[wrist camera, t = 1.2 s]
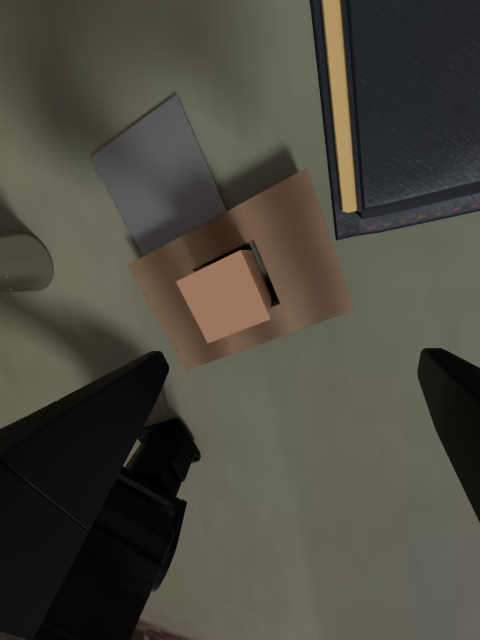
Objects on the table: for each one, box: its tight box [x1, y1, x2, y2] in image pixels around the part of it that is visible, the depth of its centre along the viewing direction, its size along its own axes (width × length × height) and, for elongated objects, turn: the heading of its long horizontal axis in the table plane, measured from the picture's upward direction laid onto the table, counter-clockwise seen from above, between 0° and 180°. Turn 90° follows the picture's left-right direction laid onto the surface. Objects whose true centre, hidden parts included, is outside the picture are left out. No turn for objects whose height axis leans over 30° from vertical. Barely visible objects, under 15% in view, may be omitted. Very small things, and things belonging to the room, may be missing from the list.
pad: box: [90, 94, 227, 256], centre depth 19 cm, size 9×9×1 cm
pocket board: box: [128, 168, 354, 370], centre depth 20 cm, size 16×11×3 cm
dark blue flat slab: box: [310, 0, 480, 240], centre depth 15 cm, size 20×2×15 cm
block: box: [176, 250, 271, 343], centre depth 17 cm, size 4×4×8 cm
